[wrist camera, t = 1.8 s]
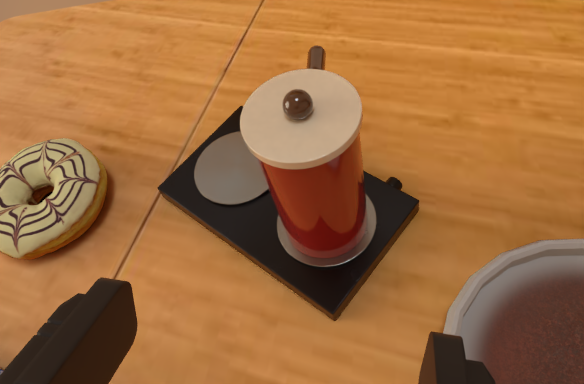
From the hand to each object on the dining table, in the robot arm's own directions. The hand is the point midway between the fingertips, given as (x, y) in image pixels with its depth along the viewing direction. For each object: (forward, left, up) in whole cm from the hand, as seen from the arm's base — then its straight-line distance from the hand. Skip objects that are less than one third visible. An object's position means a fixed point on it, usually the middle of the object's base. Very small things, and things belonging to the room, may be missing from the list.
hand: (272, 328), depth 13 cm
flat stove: (-10, -13, -20) cm, 26 cm away
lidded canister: (-13, -10, -18) cm, 25 cm away
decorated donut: (+1, -30, -20) cm, 36 cm away
